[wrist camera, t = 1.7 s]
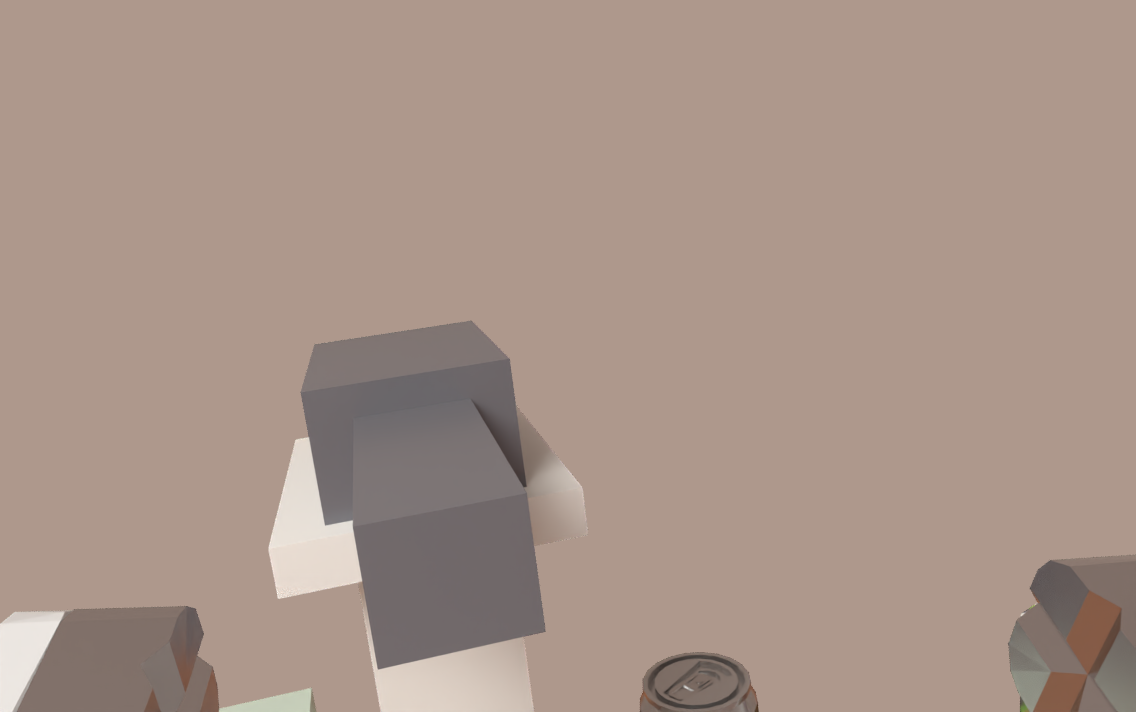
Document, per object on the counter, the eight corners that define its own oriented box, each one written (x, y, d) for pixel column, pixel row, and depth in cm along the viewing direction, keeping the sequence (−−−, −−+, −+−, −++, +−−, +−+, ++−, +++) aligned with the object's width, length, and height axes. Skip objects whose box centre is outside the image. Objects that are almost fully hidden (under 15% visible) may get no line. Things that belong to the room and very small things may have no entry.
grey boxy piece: (606, 617, 19) (584, 433, 18) (310, 685, 17) (272, 489, 17) (478, 408, 38) (465, 314, 37) (333, 433, 37) (316, 337, 36)
